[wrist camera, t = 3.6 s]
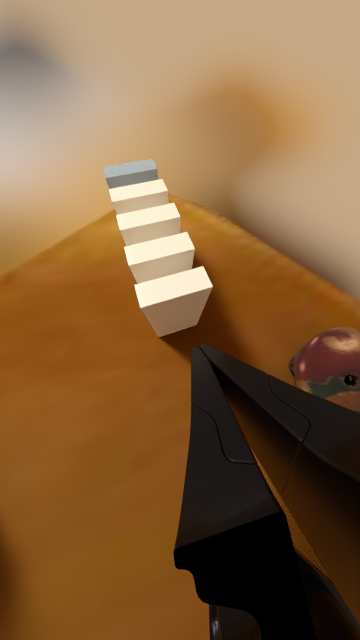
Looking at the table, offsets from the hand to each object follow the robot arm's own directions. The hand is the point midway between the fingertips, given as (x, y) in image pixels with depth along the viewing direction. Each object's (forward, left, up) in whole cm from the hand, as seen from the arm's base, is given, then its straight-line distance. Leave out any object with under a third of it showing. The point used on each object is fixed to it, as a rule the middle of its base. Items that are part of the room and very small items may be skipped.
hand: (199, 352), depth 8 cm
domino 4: (+7, -5, -11) cm, 14 cm away
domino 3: (+11, -8, -11) cm, 17 cm away
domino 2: (+14, -10, -11) cm, 20 cm away
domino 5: (+4, -3, -11) cm, 12 cm away
